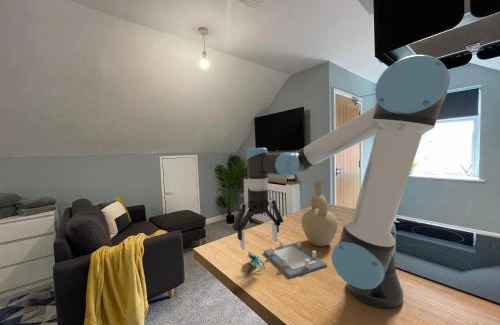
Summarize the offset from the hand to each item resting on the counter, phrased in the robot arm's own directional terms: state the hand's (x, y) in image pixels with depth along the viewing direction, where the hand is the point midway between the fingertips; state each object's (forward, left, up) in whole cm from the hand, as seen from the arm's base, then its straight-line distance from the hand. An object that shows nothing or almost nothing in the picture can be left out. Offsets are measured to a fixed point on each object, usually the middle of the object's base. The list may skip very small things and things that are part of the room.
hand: (259, 244), depth 79 cm
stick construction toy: (+1, -1, -11) cm, 11 cm away
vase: (+9, -36, -11) cm, 39 cm away
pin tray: (+2, -16, -11) cm, 19 cm away
